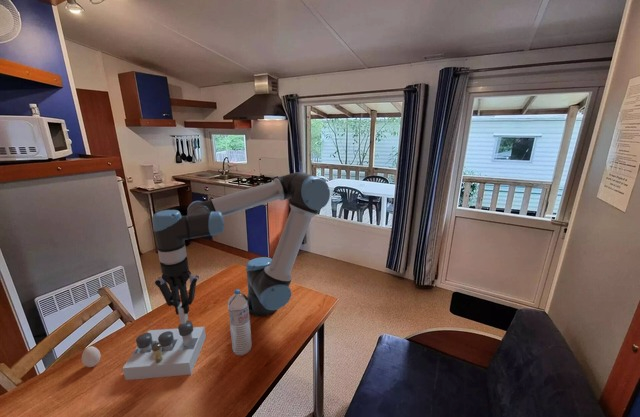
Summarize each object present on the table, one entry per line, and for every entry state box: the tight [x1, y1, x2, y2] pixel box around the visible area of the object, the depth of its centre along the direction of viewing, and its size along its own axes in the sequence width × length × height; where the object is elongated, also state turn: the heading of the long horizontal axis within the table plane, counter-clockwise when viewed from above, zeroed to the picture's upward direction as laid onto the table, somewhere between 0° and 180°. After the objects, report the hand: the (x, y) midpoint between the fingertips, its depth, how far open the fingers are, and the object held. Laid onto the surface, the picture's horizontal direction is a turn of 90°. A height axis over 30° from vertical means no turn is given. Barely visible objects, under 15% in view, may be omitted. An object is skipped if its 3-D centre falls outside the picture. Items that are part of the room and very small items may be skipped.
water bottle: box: [227, 288, 253, 356], centre depth 92 cm, size 7×7×25 cm
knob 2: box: [177, 320, 194, 346], centre depth 90 cm, size 4×4×7 cm
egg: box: [81, 345, 101, 368], centre depth 87 cm, size 5×5×7 cm
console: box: [122, 326, 207, 381], centre depth 91 cm, size 20×16×5 cm
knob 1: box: [135, 332, 153, 353], centre depth 89 cm, size 4×4×7 cm
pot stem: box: [151, 342, 163, 363], centre depth 83 cm, size 3×3×6 cm
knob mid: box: [158, 331, 174, 351], centre depth 90 cm, size 4×4×7 cm
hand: (184, 320), depth 88 cm, fingers closed
